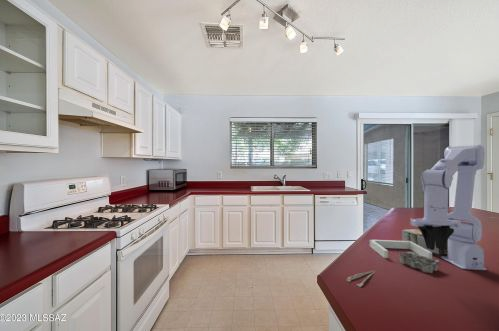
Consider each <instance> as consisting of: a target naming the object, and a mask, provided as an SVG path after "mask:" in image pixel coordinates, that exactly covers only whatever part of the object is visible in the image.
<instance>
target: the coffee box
mask: <svg viewBox="0 0 499 331" xmlns="http://www.w3.org/2000/svg"><path fill="white" fill-rule="evenodd" d="M401 231H402V232H401V241H411V242H413V243H415V244H417V245H419V246H420V247H422V248H424V249H426V250H428V251H430V252H432V256H435V257H437V258H441V256H445V257H447V254H448V240H447V242H446V244H445V247H444V250H440V249H438V248H436V245H435V248H434V250H431V249H429V248H427V247H426V243H425V240H424V237H423V235H422V233H421V231H420V229H419V228H414V229H413V228H412V229H409V228H408V229H402V230H401Z"/></svg>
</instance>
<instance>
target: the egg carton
mask: <svg viewBox="0 0 499 331" xmlns="http://www.w3.org/2000/svg"><path fill="white" fill-rule="evenodd" d="M397 254H398V262H399V263H400V264H401V265H407V266H410V268H413V269H419V270H421V271H422V272H423V273H430V274H434V273H433V272H434V271H435V272H436V271H438V263H439V259H434V258H432V259H430V258H427V257H426V256H425V257H424V256H421V255H419V254H417V253H415V252H414V251H406V252H400V251H397Z"/></svg>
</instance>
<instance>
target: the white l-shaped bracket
mask: <svg viewBox="0 0 499 331" xmlns="http://www.w3.org/2000/svg"><path fill="white" fill-rule="evenodd" d="M368 242H369V243H368V244H369V247H370V248H371V249H373V251H374V252H377V253H378V254H379V255H380V256H381V257H382V258H384V259H388V257H389V250H388V249H404V250H411V252H414V253H416V254H417V255H421V256H424V257H425V256H426V257H427V258H430V259H433V255H432V252H430V251H428V250H426V249H424V248H422V247H420V246H419V245H417V244H415V243H413V242H411V241H402V240H394V239H393V240H391V239H389V240H388V239H369V241H368Z"/></svg>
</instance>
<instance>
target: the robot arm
mask: <svg viewBox="0 0 499 331" xmlns="http://www.w3.org/2000/svg"><path fill="white" fill-rule="evenodd" d="M443 152H444V154H443V156H444V158H441V159H439V160H438V161H437V162H436V163H435V164H434V165H433V166H432V167H431V169H426V170H424V171H423V172H422V173H421V176H420V181H421V185H422V192H423V193H424V196H423V198H424V199H423V200H424V202H423V203H424V205H423V206H424V207H423V210H424V211H423V216H422V218H415V219H414V218H410V226H411V227H417V229H418V230H420V231H421V233H422V235H423V237H424V240H425V243H426V247H427V248H429V249H431V250H434V248H435V245H436V248H438V249H440V250H444V247H445V244H446V242H447V240H448V254H447V257H445V256H441V257H440V258H441V259H443V260H445V261H447V262H449V263H451V264H453V265H454V266H456V267H458V268H459V269H462V270H475V271H487V268H486V267H485V251H484V249H483V248H482V247H481V246H480V245H478V242H479V241H481V240H482V236H483V229H482V221H481V220H480V219H479V218H478V217H476V216H475V215H473V214H472V212H473V211H472V210H473V208H472V207H473V199H474V190H475V178H476V174H477V172H478V171H479V170H482V169H483V168H484V166H485V158H486V153H485V147H484V146H483V145H481V144H475V145H461V146H460V145H459V146H458V145H457V146H451V145H450V146H447V147H446V148H445V149H444V151H443ZM456 173H457V176H456V186H455V196H454V203H453V204H454V205H453V211H452V212H450V213H449V212H448V210H449V208H448V207H449V206H448V205H449V188H451V186H452V184H453V181H454V175H455V174H456Z"/></svg>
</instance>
